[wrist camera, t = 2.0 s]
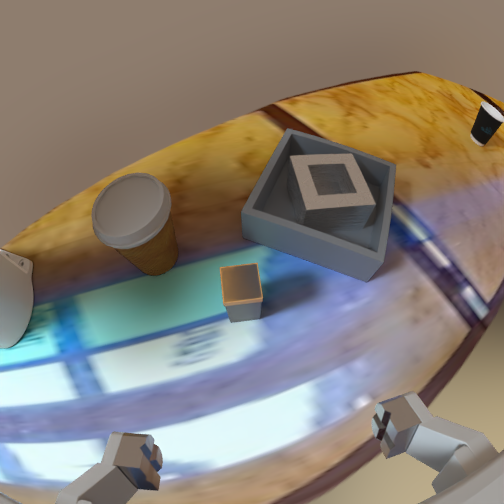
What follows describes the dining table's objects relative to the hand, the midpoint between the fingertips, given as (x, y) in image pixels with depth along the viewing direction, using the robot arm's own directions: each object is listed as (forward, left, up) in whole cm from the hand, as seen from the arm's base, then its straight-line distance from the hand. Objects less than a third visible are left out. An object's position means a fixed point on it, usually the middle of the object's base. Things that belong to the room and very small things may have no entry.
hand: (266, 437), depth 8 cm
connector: (-6, +11, -24) cm, 27 cm away
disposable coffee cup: (-20, +13, -24) cm, 34 cm away
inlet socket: (-1, +29, -24) cm, 37 cm away
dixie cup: (+35, +73, -24) cm, 84 cm away
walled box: (-1, +29, -24) cm, 37 cm away
